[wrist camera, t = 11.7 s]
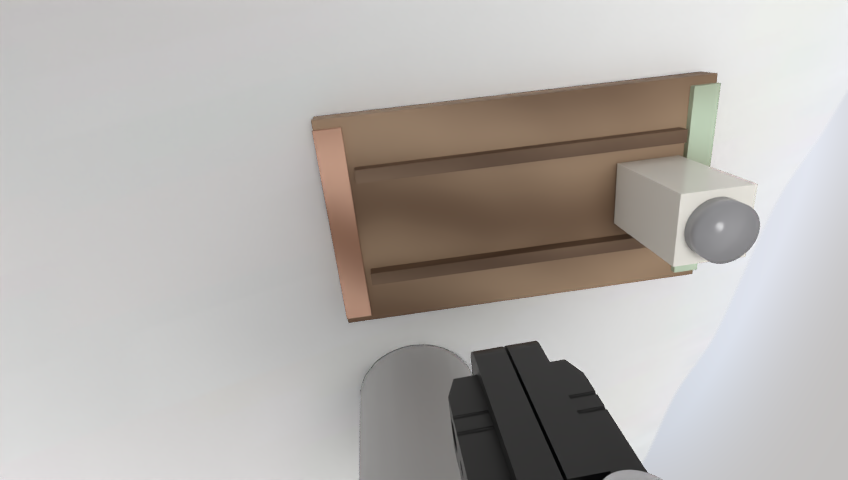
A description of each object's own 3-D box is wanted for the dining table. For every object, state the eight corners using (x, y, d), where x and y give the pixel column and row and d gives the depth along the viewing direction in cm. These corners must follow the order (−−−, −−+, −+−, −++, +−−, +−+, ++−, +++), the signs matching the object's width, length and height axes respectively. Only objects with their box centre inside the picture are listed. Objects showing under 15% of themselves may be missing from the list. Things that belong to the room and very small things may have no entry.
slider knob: (617, 163, 23) (694, 200, 17) (679, 155, 23) (774, 189, 18) (614, 223, 24) (685, 275, 18) (673, 215, 24) (760, 265, 19)
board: (314, 116, 22) (309, 122, 20) (700, 71, 23) (726, 74, 21) (349, 310, 26) (348, 329, 24) (678, 263, 27) (699, 279, 25)
